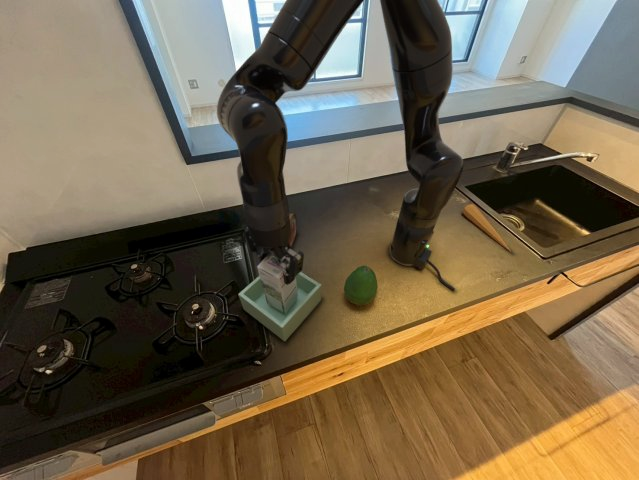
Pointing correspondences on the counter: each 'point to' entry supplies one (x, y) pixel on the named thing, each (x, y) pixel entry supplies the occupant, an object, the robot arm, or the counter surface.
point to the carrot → (482, 223)
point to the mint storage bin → (271, 316)
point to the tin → (292, 227)
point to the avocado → (361, 286)
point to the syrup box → (276, 285)
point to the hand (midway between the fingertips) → (277, 273)
